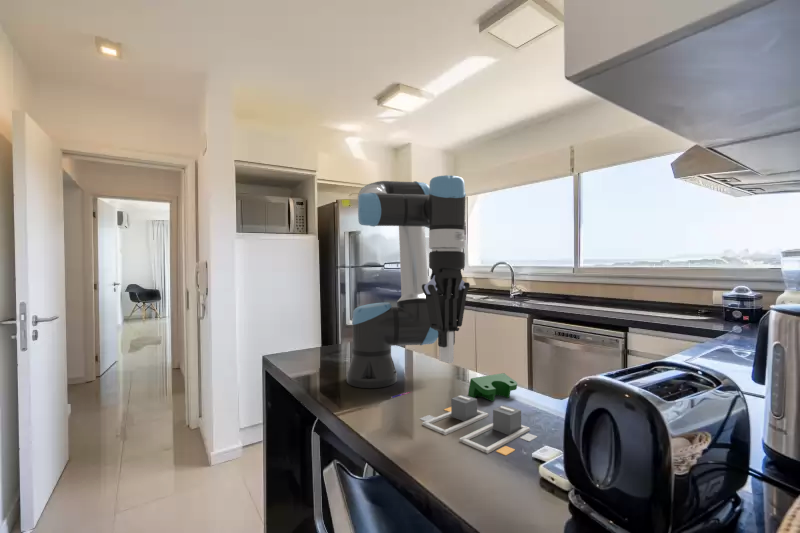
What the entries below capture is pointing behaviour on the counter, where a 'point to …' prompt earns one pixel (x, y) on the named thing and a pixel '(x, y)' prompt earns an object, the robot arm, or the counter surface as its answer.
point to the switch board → (478, 432)
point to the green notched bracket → (491, 386)
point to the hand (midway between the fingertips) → (446, 361)
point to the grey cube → (506, 419)
